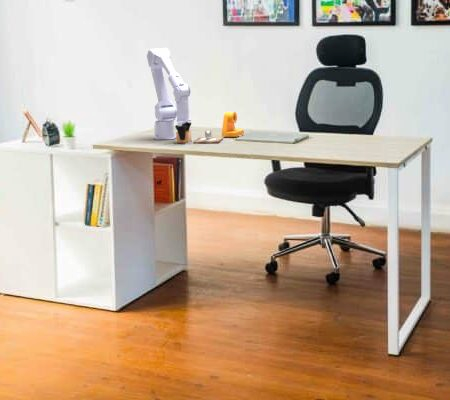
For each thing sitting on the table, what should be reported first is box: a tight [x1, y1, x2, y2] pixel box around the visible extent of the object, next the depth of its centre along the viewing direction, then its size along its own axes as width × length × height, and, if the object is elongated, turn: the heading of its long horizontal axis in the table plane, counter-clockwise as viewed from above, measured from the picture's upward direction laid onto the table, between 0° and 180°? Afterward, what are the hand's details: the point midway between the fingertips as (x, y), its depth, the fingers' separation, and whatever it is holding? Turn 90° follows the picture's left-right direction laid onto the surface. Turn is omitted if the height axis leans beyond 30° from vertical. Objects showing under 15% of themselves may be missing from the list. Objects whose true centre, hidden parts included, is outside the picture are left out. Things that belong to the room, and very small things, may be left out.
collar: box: [175, 129, 192, 144], centre depth 451 cm, size 6×6×5 cm
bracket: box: [221, 111, 245, 138], centre depth 462 cm, size 11×7×12 cm, turn 154°
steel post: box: [204, 130, 212, 140], centre depth 449 cm, size 3×3×5 cm
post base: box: [193, 136, 224, 145], centre depth 449 cm, size 12×12×1 cm
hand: (184, 138), depth 452 cm, fingers closed on collar, 6 cm apart
